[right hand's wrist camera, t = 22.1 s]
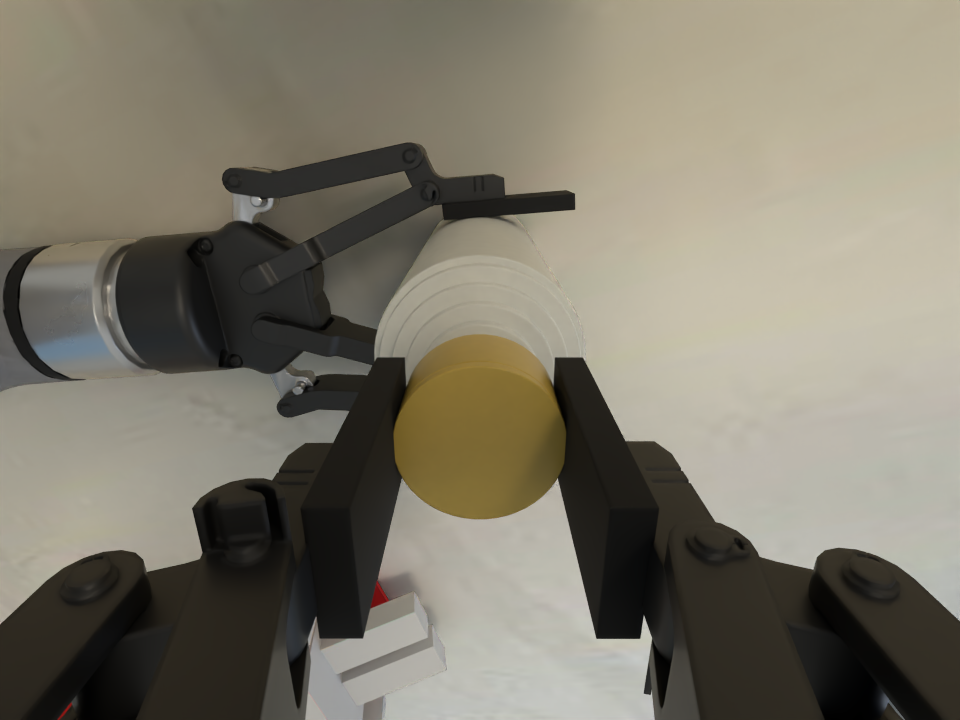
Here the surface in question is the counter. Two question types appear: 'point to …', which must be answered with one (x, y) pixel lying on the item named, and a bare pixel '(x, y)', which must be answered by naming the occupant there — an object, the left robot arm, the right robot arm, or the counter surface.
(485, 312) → the bottle
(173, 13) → the counter surface
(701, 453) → the counter surface
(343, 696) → the toy
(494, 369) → the cap
